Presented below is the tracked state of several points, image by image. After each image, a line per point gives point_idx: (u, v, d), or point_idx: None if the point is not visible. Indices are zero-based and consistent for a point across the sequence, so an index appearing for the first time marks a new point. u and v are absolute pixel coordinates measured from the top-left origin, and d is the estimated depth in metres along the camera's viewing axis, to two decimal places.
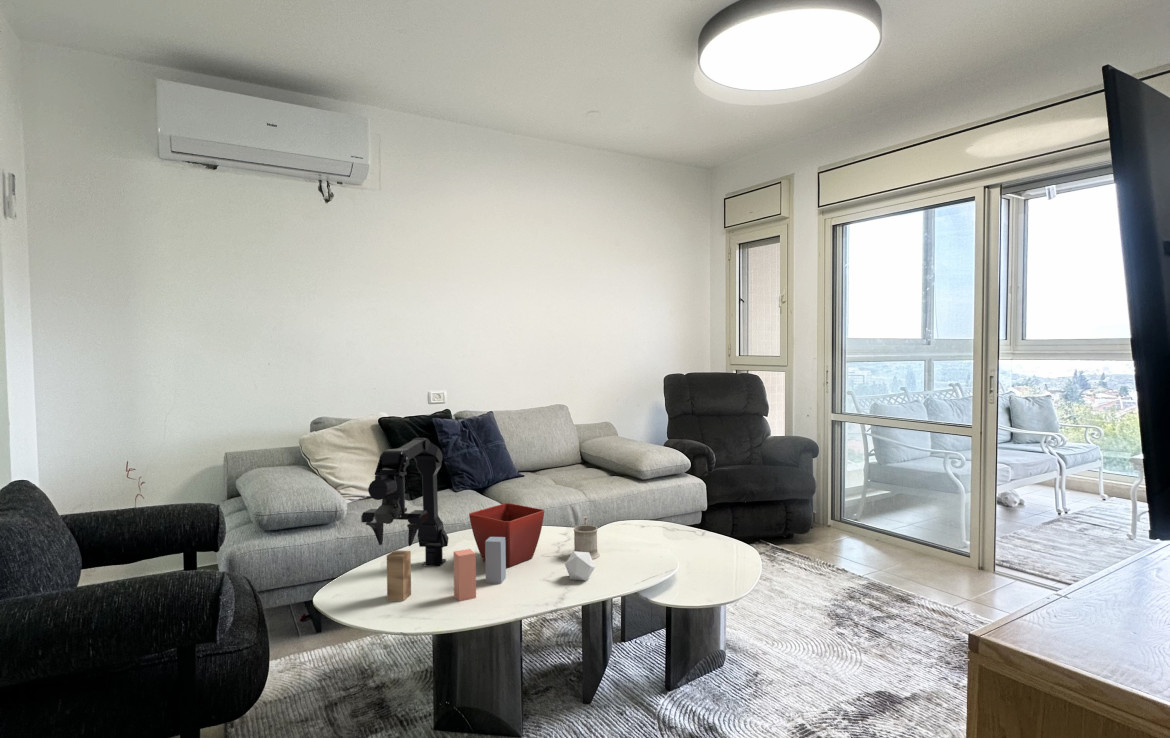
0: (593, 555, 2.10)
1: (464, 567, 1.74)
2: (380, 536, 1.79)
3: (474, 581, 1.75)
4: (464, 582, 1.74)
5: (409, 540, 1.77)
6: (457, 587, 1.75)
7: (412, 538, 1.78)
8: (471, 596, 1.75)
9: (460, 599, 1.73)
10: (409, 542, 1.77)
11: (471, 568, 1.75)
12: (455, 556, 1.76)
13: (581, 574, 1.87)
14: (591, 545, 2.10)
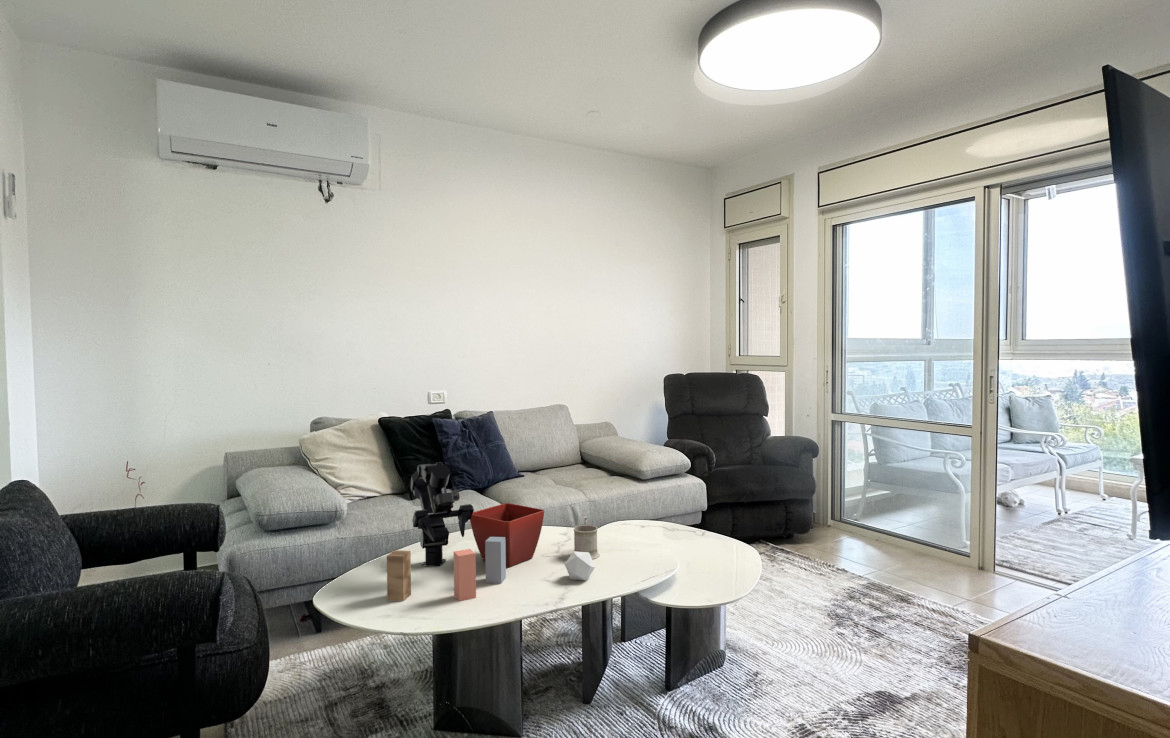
0: (593, 555, 2.10)
1: (464, 567, 1.74)
2: None
3: (474, 581, 1.75)
4: (464, 582, 1.74)
5: (463, 529, 1.91)
6: (457, 587, 1.75)
7: None
8: (471, 596, 1.75)
9: (460, 599, 1.73)
10: (463, 531, 1.91)
11: (471, 568, 1.75)
12: (455, 556, 1.76)
13: (581, 574, 1.87)
14: (591, 545, 2.10)
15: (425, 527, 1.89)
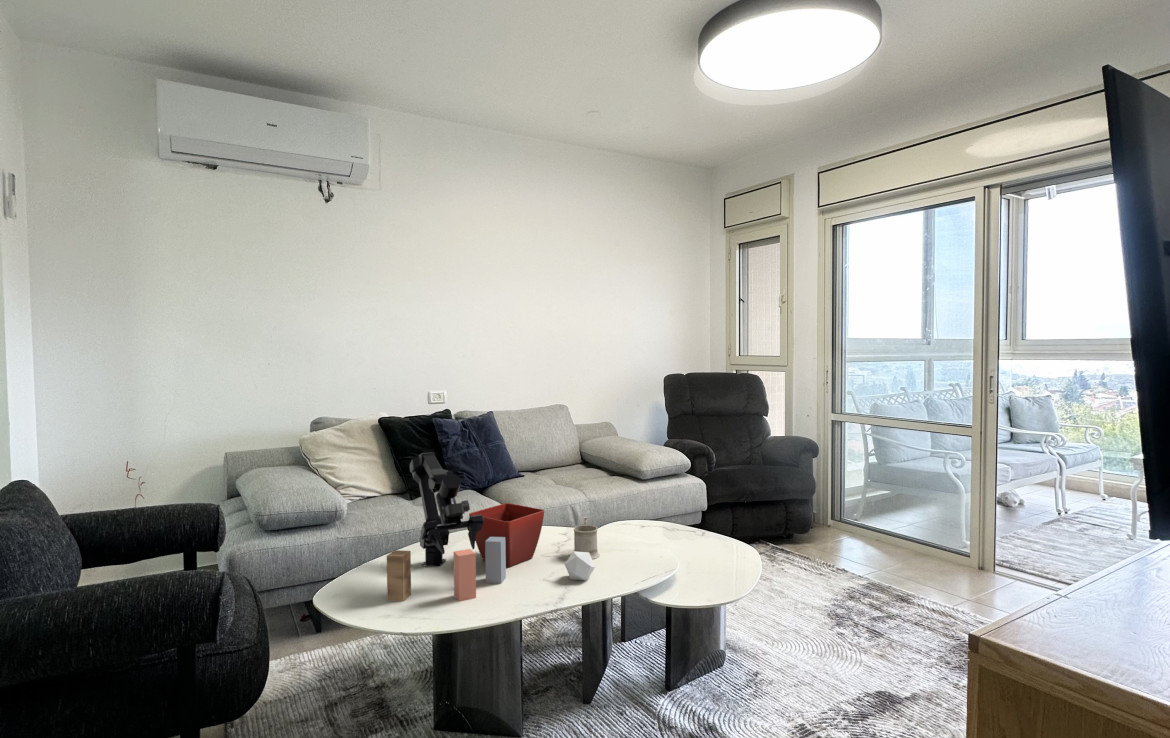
0: (593, 555, 2.10)
1: (464, 567, 1.74)
2: None
3: (474, 581, 1.75)
4: (464, 582, 1.74)
5: (473, 541, 1.84)
6: (457, 587, 1.75)
7: None
8: (471, 596, 1.75)
9: (460, 599, 1.73)
10: (473, 543, 1.84)
11: (471, 568, 1.75)
12: (455, 556, 1.76)
13: (581, 574, 1.87)
14: (591, 545, 2.10)
15: (434, 539, 1.83)
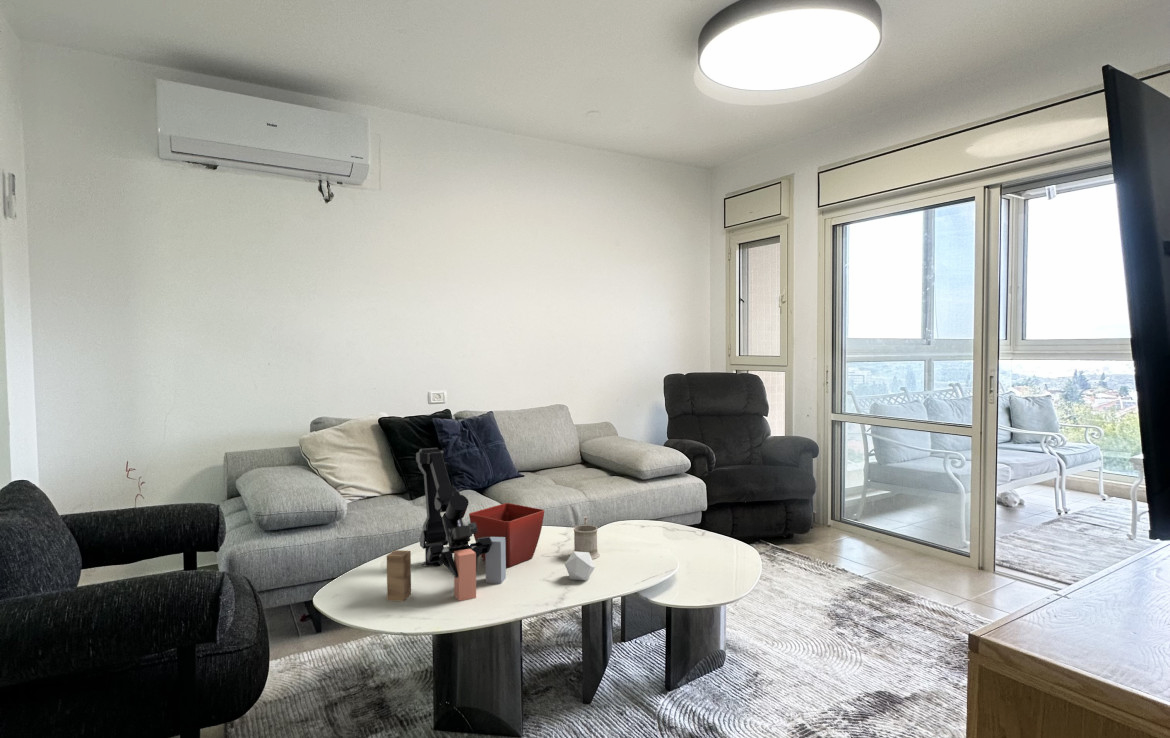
0: (593, 555, 2.10)
1: (464, 567, 1.74)
2: None
3: (474, 581, 1.75)
4: (464, 581, 1.74)
5: None
6: (457, 587, 1.75)
7: None
8: (471, 596, 1.75)
9: (460, 599, 1.73)
10: None
11: (472, 568, 1.75)
12: (455, 556, 1.76)
13: (581, 574, 1.87)
14: (591, 545, 2.10)
15: (447, 562, 1.77)
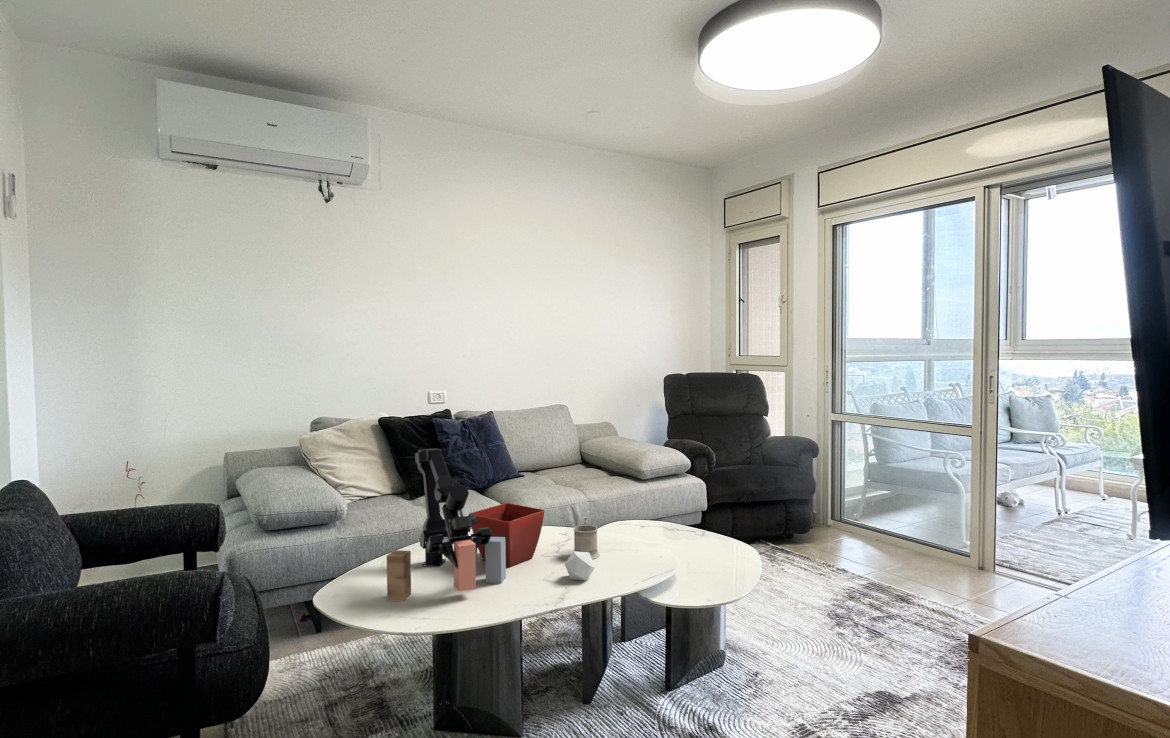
0: (593, 555, 2.10)
1: (464, 558, 1.74)
2: None
3: (474, 572, 1.75)
4: (463, 572, 1.74)
5: None
6: (457, 577, 1.75)
7: None
8: (470, 587, 1.75)
9: (459, 589, 1.73)
10: None
11: (471, 559, 1.75)
12: (455, 546, 1.76)
13: (581, 574, 1.87)
14: (591, 545, 2.10)
15: (447, 552, 1.77)
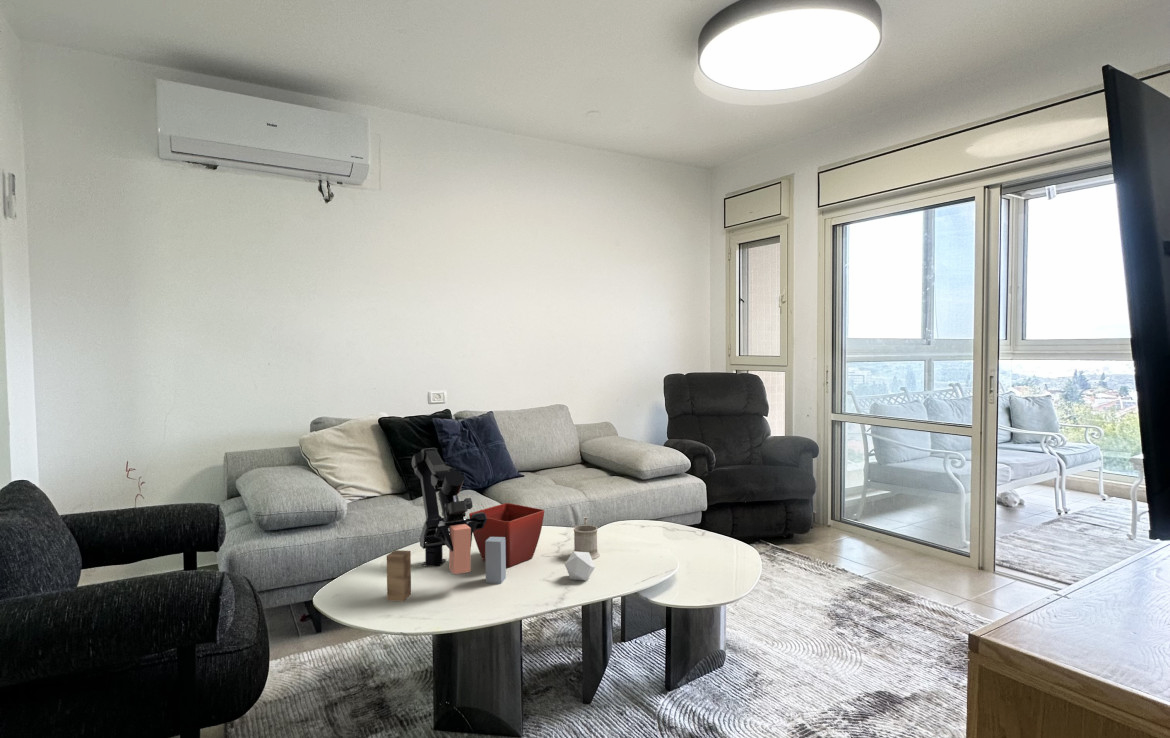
0: (593, 555, 2.10)
1: (459, 541, 1.77)
2: None
3: (469, 555, 1.79)
4: (458, 555, 1.78)
5: None
6: (452, 560, 1.78)
7: None
8: (466, 570, 1.79)
9: (455, 572, 1.77)
10: None
11: (466, 543, 1.79)
12: (451, 530, 1.79)
13: (581, 574, 1.87)
14: (591, 545, 2.10)
15: (443, 536, 1.81)
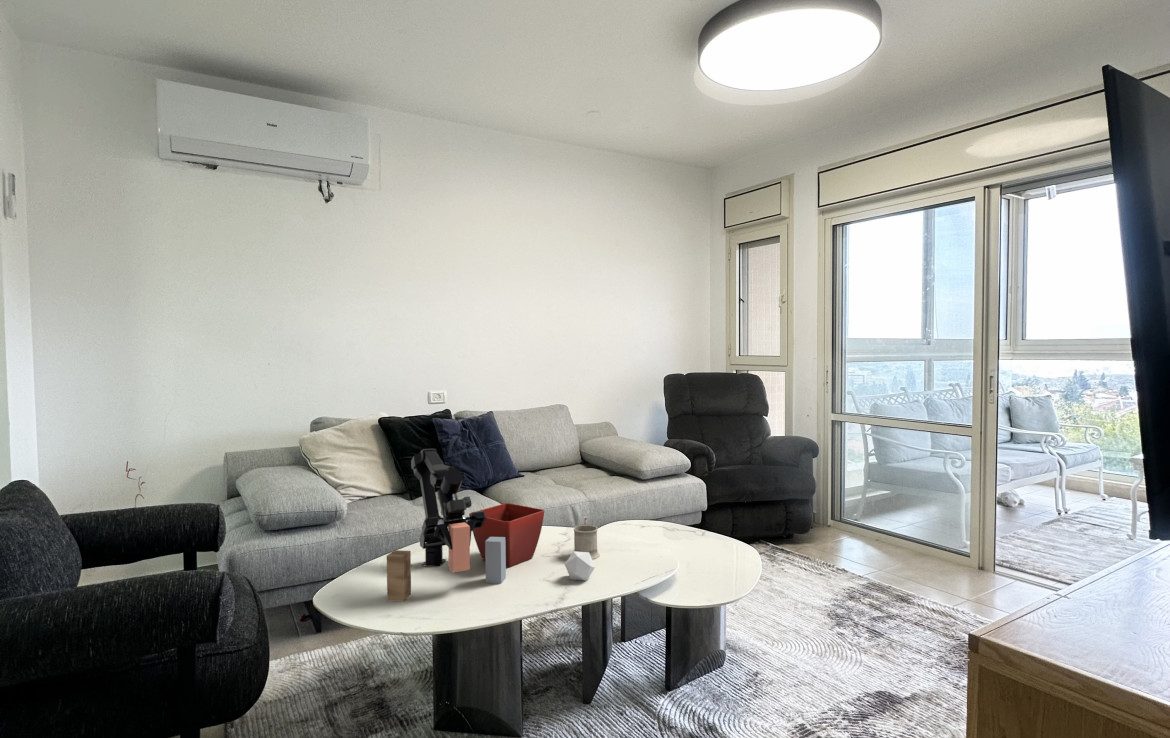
0: (593, 555, 2.10)
1: (458, 540, 1.78)
2: None
3: (468, 553, 1.80)
4: (458, 553, 1.78)
5: None
6: (451, 559, 1.79)
7: None
8: (465, 568, 1.79)
9: (454, 570, 1.78)
10: None
11: (465, 541, 1.79)
12: (450, 529, 1.80)
13: (581, 574, 1.87)
14: (591, 545, 2.10)
15: (442, 534, 1.82)
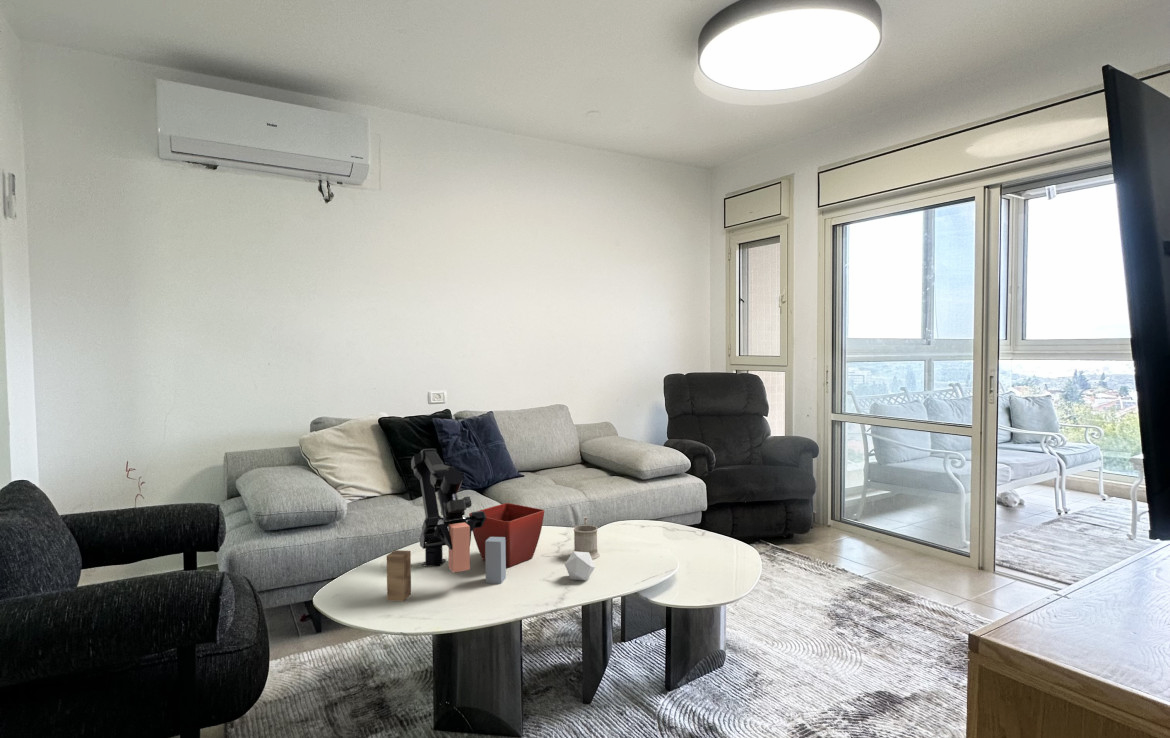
0: (593, 555, 2.10)
1: (458, 540, 1.78)
2: None
3: (468, 553, 1.80)
4: (458, 553, 1.78)
5: None
6: (451, 559, 1.79)
7: None
8: (465, 568, 1.79)
9: (454, 570, 1.78)
10: None
11: (465, 541, 1.79)
12: (450, 529, 1.80)
13: (581, 574, 1.87)
14: (591, 545, 2.10)
15: (442, 534, 1.82)
